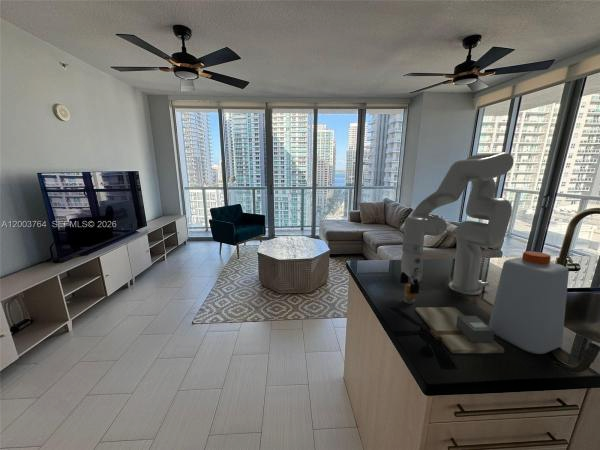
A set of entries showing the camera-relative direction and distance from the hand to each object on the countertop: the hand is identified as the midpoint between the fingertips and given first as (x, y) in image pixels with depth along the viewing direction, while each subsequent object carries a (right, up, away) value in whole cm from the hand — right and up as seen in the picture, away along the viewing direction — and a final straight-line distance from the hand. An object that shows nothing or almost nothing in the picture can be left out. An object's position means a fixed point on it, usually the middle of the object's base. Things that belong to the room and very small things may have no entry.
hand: (408, 287), depth 102 cm
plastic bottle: (+27, -10, -22) cm, 36 cm away
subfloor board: (+8, -9, -17) cm, 21 cm away
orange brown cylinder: (+1, -6, +1) cm, 6 cm away
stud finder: (+11, -9, -23) cm, 27 cm away
